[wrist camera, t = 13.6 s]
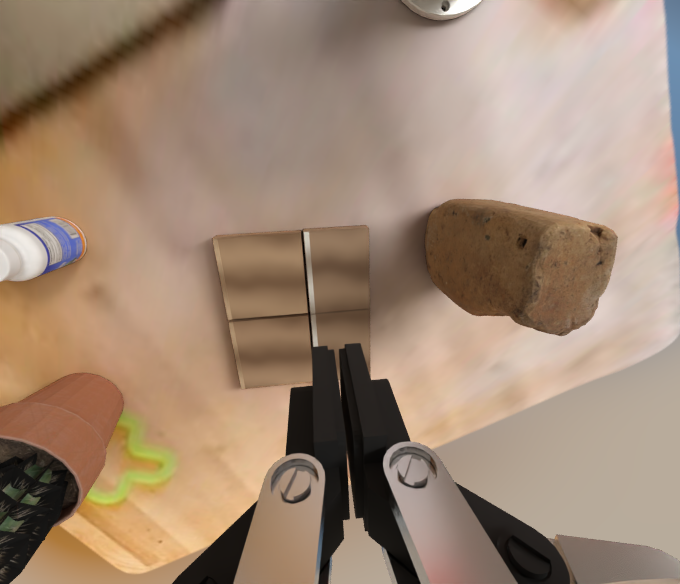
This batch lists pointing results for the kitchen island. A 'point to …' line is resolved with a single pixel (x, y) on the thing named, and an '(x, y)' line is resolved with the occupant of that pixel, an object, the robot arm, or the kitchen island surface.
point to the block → (519, 262)
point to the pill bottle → (38, 247)
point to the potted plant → (50, 460)
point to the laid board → (339, 287)
